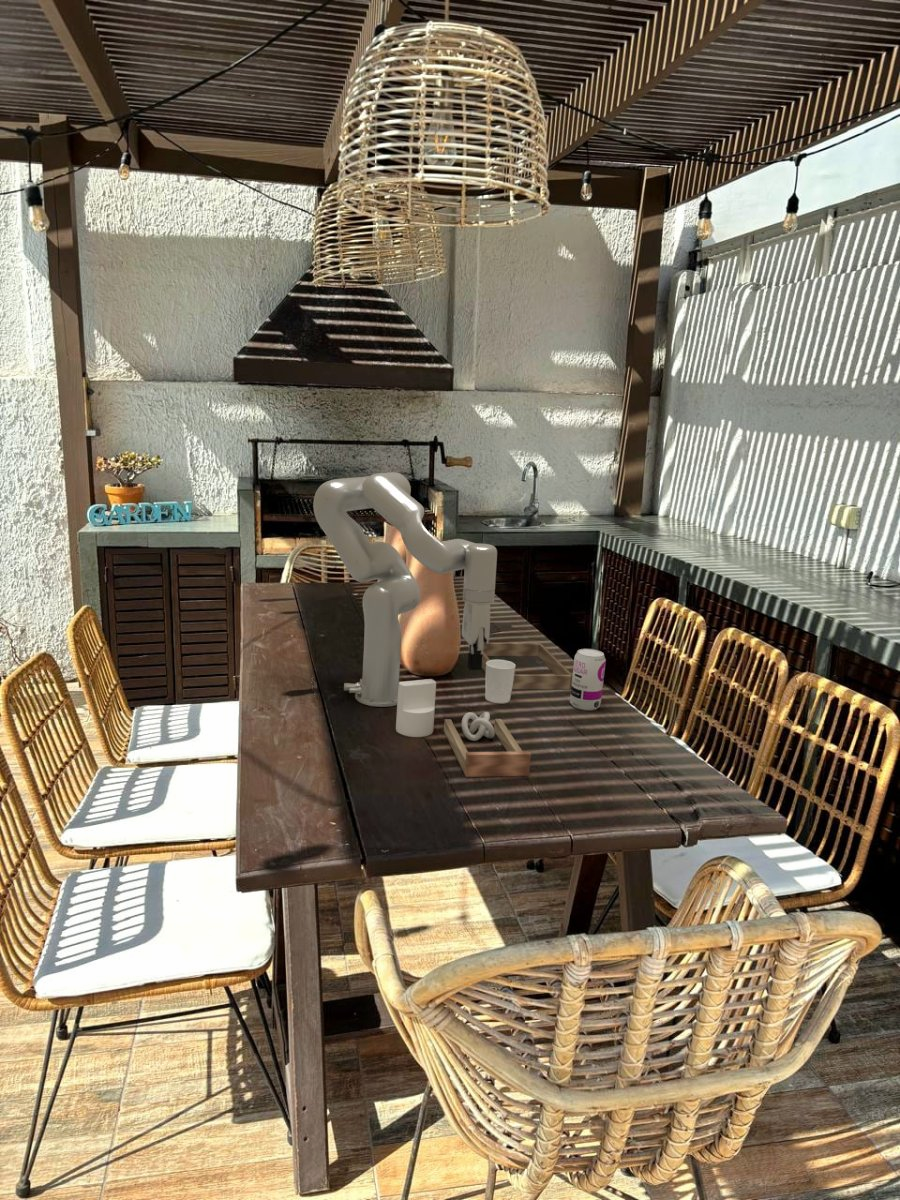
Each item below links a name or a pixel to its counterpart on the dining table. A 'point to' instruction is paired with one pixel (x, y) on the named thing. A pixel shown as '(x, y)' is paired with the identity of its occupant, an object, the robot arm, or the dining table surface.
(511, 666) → the white cup
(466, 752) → the guide channel
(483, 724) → the knot
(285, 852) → the dining table surface
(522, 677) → the serving tray rim
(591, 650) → the supplement can
